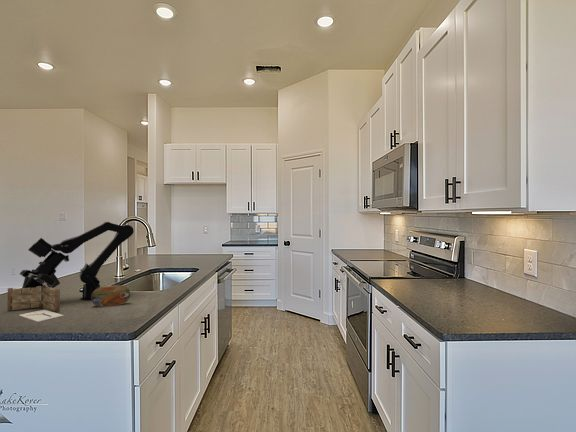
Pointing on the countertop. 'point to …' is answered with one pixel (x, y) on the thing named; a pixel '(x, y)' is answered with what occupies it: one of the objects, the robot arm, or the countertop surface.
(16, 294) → the fence panel
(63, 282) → the countertop surface
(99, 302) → the tin
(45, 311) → the card
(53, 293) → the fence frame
